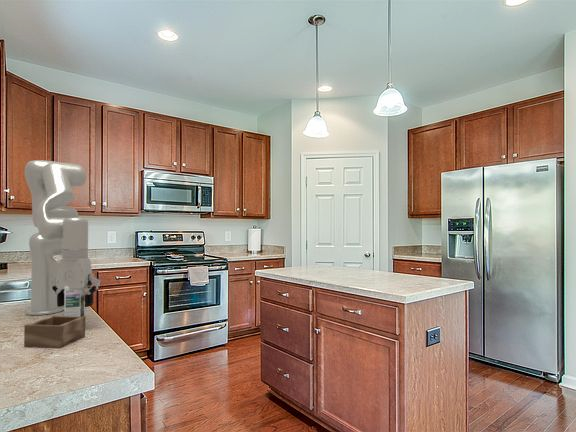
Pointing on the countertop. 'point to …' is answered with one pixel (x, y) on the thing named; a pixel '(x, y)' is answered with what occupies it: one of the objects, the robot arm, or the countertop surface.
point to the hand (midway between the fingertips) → (75, 306)
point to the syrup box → (73, 302)
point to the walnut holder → (54, 331)
